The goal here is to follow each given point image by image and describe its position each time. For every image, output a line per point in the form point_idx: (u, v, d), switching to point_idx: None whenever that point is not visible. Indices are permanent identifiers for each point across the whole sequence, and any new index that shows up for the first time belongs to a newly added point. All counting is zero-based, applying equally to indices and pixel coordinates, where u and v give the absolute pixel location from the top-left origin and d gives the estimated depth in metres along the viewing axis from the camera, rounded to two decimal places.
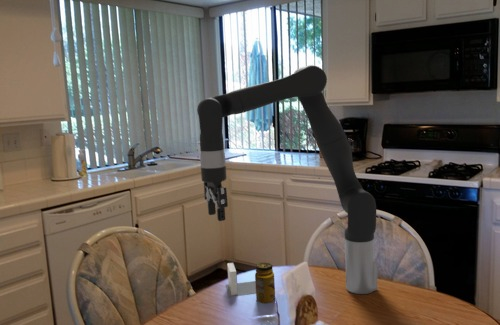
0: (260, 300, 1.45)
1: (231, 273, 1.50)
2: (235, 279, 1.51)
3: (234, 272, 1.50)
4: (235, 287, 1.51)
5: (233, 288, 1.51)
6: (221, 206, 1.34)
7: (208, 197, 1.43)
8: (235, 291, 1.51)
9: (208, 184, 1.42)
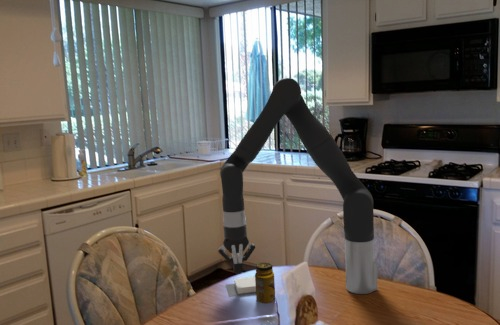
0: (260, 300, 1.45)
1: None
2: (253, 290, 1.52)
3: None
4: (245, 291, 1.52)
5: (244, 289, 1.52)
6: None
7: None
8: (241, 291, 1.52)
9: (227, 242, 1.52)
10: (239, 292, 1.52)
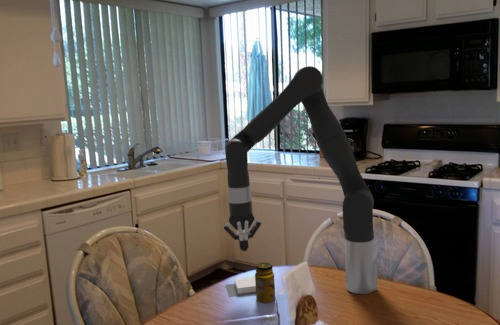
0: (260, 300, 1.45)
1: None
2: (253, 290, 1.52)
3: None
4: (245, 291, 1.52)
5: (244, 289, 1.52)
6: None
7: (241, 232, 1.52)
8: (241, 291, 1.52)
9: (233, 219, 1.51)
10: (239, 292, 1.52)
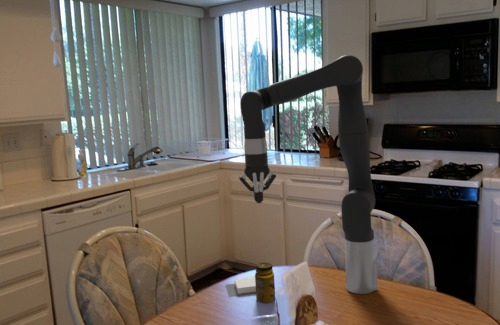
0: (260, 300, 1.45)
1: None
2: (253, 290, 1.52)
3: None
4: (245, 291, 1.52)
5: (244, 289, 1.52)
6: None
7: None
8: (241, 291, 1.52)
9: (248, 170, 1.53)
10: (239, 292, 1.52)
